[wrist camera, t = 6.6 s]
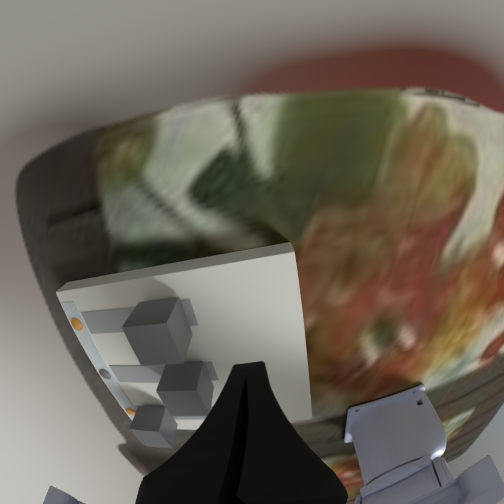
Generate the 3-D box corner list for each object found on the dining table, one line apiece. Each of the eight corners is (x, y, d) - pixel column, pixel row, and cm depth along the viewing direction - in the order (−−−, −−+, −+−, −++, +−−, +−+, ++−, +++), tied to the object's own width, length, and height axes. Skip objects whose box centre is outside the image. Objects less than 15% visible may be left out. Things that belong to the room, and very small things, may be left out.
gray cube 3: (179, 296, 17) (166, 323, 14) (192, 334, 18) (183, 363, 15) (138, 302, 17) (121, 327, 14) (154, 337, 18) (141, 365, 15)
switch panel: (290, 242, 18) (294, 253, 16) (309, 404, 24) (312, 420, 22) (67, 282, 19) (54, 293, 17) (141, 414, 25) (136, 427, 23)
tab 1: (165, 406, 21) (158, 431, 18) (177, 424, 22) (172, 448, 19) (138, 405, 21) (129, 429, 18) (151, 423, 22) (144, 445, 19)
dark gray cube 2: (202, 360, 19) (196, 390, 16) (214, 387, 20) (209, 416, 17) (166, 363, 19) (155, 391, 16) (179, 388, 20) (171, 416, 17)
